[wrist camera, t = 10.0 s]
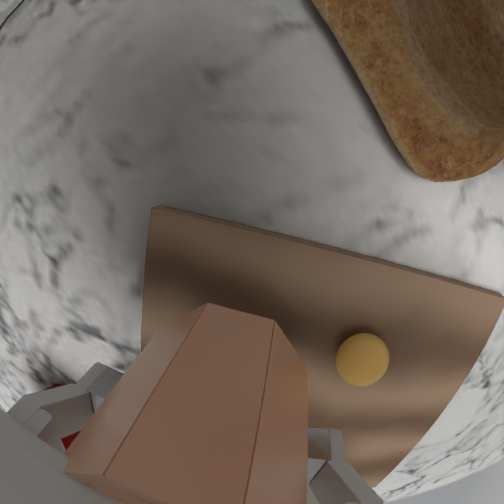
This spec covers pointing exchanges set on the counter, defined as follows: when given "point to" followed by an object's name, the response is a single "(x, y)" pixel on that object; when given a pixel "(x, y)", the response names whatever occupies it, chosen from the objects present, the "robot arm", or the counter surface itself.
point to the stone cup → (430, 77)
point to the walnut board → (329, 322)
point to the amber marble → (362, 359)
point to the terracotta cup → (202, 418)
